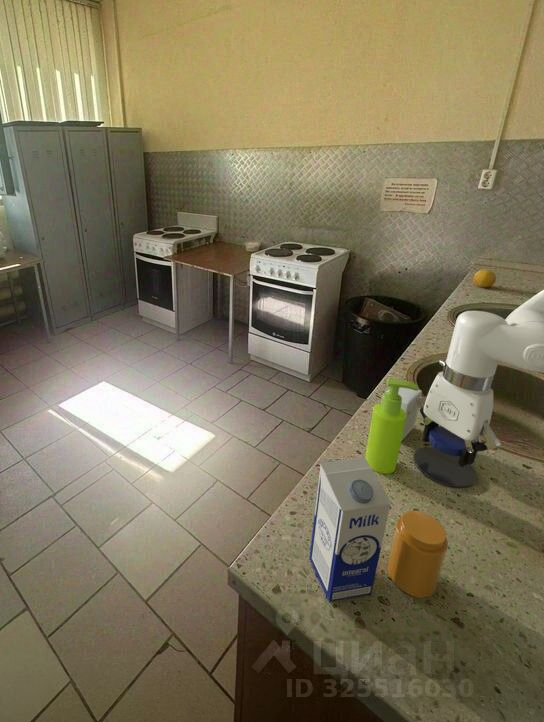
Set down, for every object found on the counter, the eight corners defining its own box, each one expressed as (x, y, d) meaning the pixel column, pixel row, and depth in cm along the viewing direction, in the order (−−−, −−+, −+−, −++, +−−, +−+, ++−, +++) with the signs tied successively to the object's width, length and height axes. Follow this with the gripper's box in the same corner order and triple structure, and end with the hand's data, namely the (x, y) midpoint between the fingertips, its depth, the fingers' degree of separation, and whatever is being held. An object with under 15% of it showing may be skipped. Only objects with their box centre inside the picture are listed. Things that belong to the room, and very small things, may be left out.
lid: (438, 455, 77) (439, 448, 76) (422, 431, 83) (423, 425, 83) (476, 457, 76) (478, 450, 75) (457, 433, 82) (459, 426, 82)
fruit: (475, 282, 190) (479, 266, 187) (495, 286, 184) (500, 270, 181) (469, 287, 185) (473, 270, 182) (489, 290, 179) (494, 274, 176)
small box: (390, 417, 97) (397, 380, 93) (414, 428, 93) (423, 390, 89) (375, 431, 92) (381, 393, 89) (399, 443, 88) (408, 404, 85)
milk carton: (348, 551, 65) (365, 455, 58) (372, 593, 59) (394, 491, 52) (308, 558, 64) (319, 461, 57) (328, 601, 58) (343, 499, 51)
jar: (423, 557, 64) (436, 509, 60) (444, 600, 58) (459, 549, 54) (381, 553, 65) (391, 506, 61) (396, 595, 58) (408, 545, 55)
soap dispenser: (403, 477, 79) (421, 393, 72) (366, 470, 81) (380, 387, 74) (398, 457, 84) (415, 376, 77) (363, 450, 87) (377, 371, 79)
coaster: (457, 450, 86) (458, 447, 86) (488, 490, 76) (489, 487, 76) (404, 447, 87) (405, 445, 87) (427, 486, 77) (428, 484, 77)
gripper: (411, 359, 80) (396, 431, 86) (505, 406, 65) (478, 488, 71) (436, 352, 83) (419, 421, 89) (532, 395, 68) (504, 475, 74)
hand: (446, 450), depth 80 cm, fingers closed on lid, 6 cm apart
